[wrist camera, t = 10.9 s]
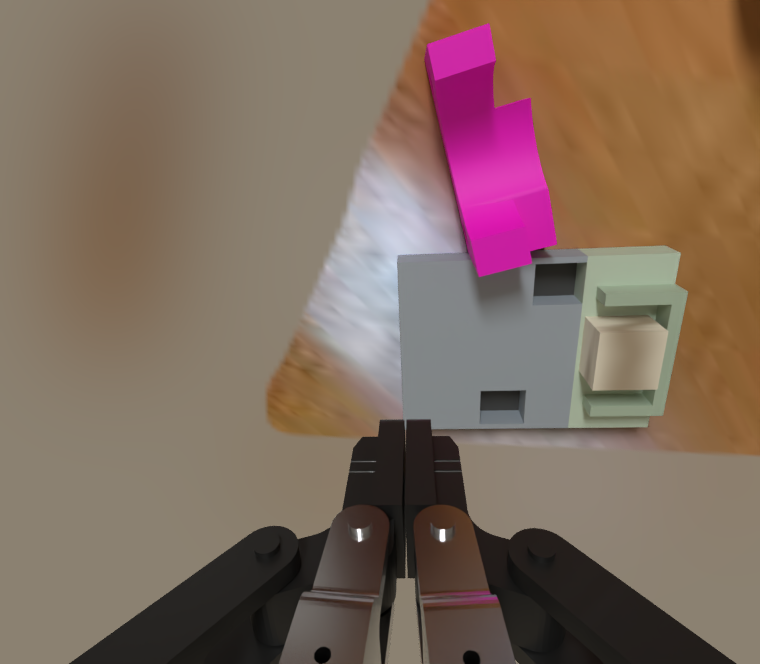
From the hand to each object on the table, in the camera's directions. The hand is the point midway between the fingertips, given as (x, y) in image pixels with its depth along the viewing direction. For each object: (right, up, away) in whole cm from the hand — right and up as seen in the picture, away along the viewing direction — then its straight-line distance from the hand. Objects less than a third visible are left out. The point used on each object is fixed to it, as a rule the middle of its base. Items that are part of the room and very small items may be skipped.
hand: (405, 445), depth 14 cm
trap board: (+12, +3, +30) cm, 32 cm away
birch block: (+19, +2, +27) cm, 33 cm away
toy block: (+8, +18, +24) cm, 31 cm away
